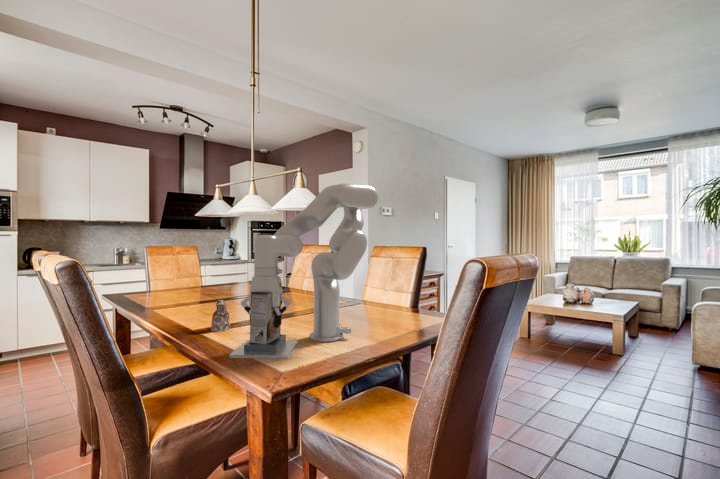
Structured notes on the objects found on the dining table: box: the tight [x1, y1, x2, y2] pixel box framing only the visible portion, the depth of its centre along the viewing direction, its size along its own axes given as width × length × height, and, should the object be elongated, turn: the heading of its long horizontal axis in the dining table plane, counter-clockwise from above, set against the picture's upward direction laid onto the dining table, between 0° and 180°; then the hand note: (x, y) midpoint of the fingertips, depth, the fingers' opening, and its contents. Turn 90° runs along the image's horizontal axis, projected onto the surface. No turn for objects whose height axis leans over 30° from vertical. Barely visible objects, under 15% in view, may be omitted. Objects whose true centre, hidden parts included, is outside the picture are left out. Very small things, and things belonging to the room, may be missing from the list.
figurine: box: [210, 298, 231, 333], centre depth 143 cm, size 7×7×12 cm
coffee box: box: [249, 292, 282, 344], centre depth 117 cm, size 9×6×16 cm
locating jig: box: [228, 333, 299, 360], centre depth 117 cm, size 18×16×4 cm
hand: (265, 326), depth 117 cm, fingers closed on coffee box, 7 cm apart
